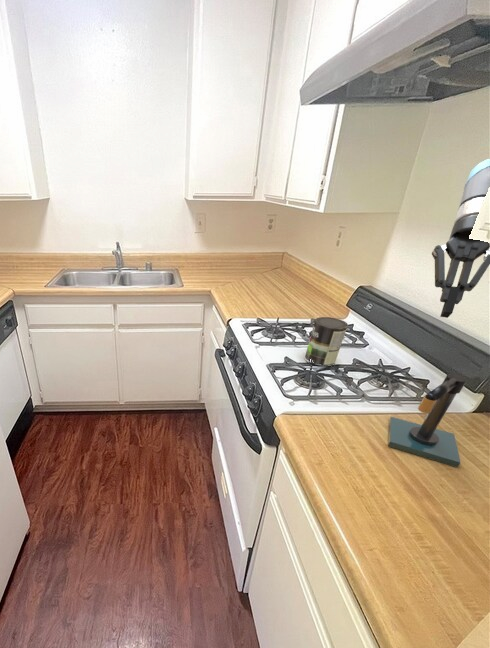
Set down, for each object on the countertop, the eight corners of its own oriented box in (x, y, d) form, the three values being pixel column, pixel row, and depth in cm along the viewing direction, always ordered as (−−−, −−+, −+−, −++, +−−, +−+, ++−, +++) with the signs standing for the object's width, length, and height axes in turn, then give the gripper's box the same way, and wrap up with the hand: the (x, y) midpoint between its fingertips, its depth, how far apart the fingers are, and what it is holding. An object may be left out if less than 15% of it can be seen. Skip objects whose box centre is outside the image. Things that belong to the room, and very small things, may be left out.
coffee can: (306, 365, 118) (318, 326, 110) (302, 353, 126) (312, 315, 119) (338, 368, 117) (352, 329, 109) (331, 355, 125) (343, 318, 117)
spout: (442, 386, 79) (451, 371, 77) (460, 393, 77) (470, 378, 74) (412, 407, 71) (420, 391, 69) (431, 416, 69) (440, 399, 67)
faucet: (451, 438, 87) (483, 387, 78) (457, 467, 78) (494, 413, 70) (388, 420, 92) (412, 371, 84) (387, 446, 83) (414, 393, 75)
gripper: (498, 237, 84) (472, 326, 82) (435, 232, 89) (409, 316, 87) (516, 215, 77) (488, 312, 75) (446, 212, 82) (419, 302, 80)
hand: (446, 314), depth 81 cm, fingers closed
